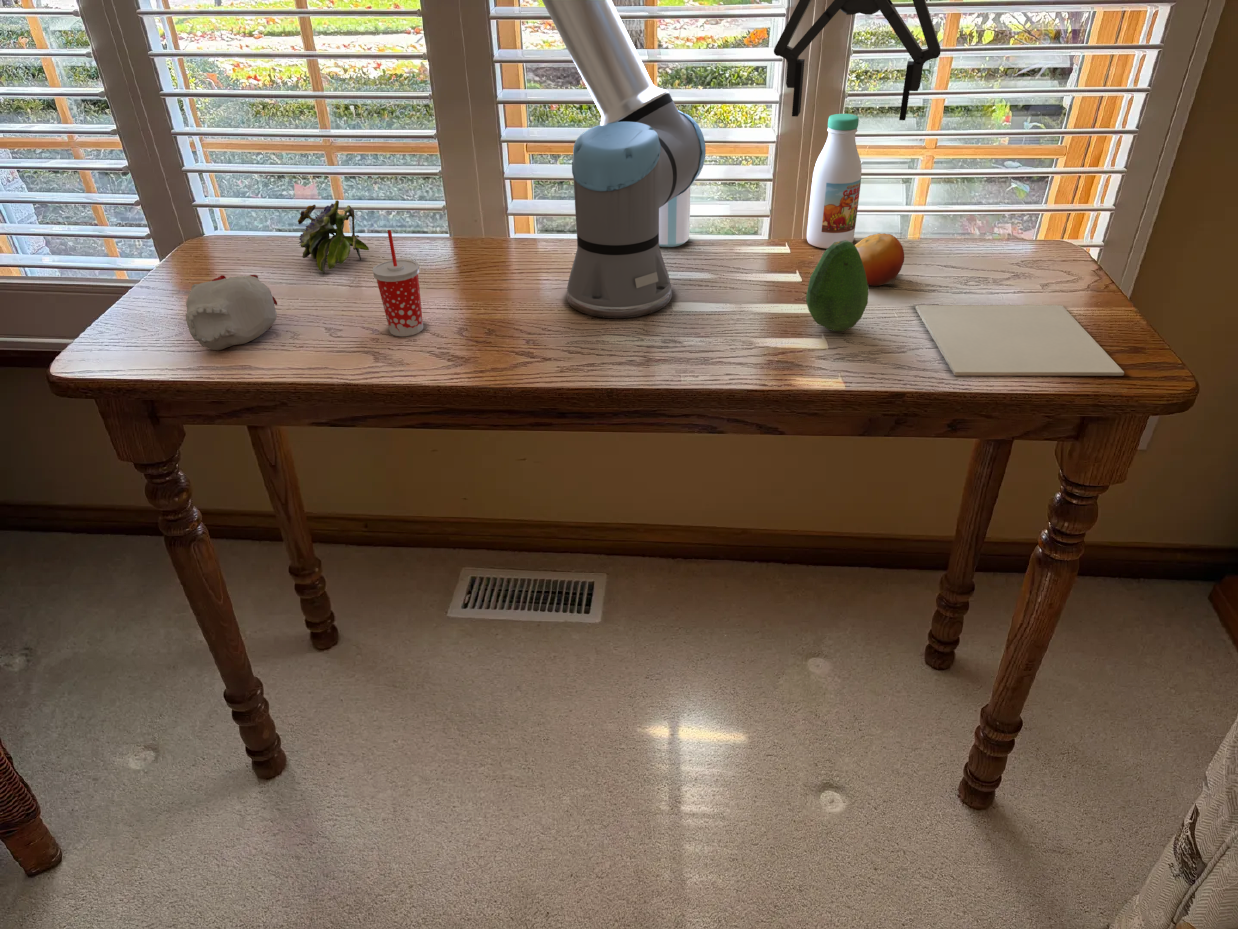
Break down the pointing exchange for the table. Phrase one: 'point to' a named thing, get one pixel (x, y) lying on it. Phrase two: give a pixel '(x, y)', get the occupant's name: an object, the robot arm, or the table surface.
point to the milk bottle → (835, 185)
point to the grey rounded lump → (229, 311)
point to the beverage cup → (400, 293)
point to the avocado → (838, 288)
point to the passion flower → (318, 236)
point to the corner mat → (1015, 341)
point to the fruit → (881, 258)
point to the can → (675, 221)
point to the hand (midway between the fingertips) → (848, 116)
